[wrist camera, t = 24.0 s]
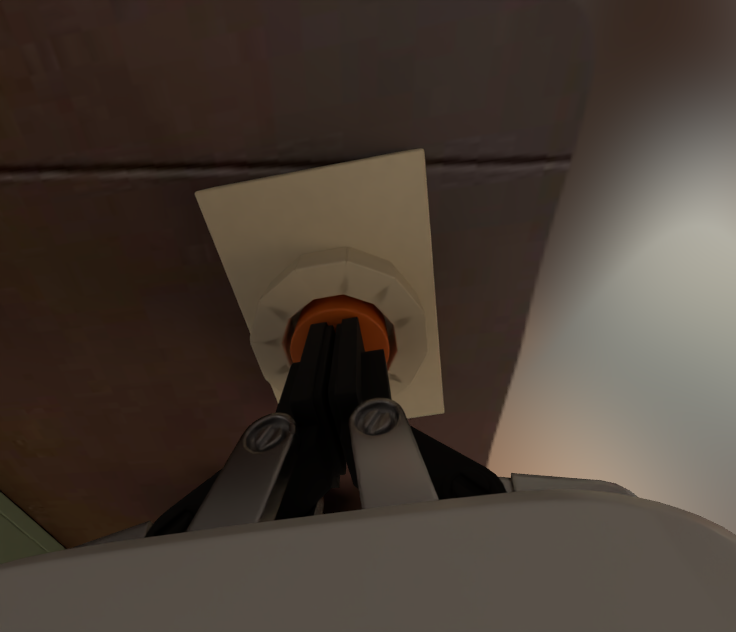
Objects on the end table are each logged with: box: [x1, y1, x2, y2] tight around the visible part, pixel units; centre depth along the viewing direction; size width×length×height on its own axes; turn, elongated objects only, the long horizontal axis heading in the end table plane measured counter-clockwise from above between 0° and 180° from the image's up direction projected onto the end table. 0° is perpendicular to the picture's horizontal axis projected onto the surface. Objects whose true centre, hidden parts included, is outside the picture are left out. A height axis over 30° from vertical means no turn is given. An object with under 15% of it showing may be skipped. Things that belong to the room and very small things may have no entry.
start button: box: [290, 294, 390, 365], centre depth 12 cm, size 4×4×2 cm
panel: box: [195, 149, 444, 418], centre depth 13 cm, size 12×8×4 cm, turn 10°
